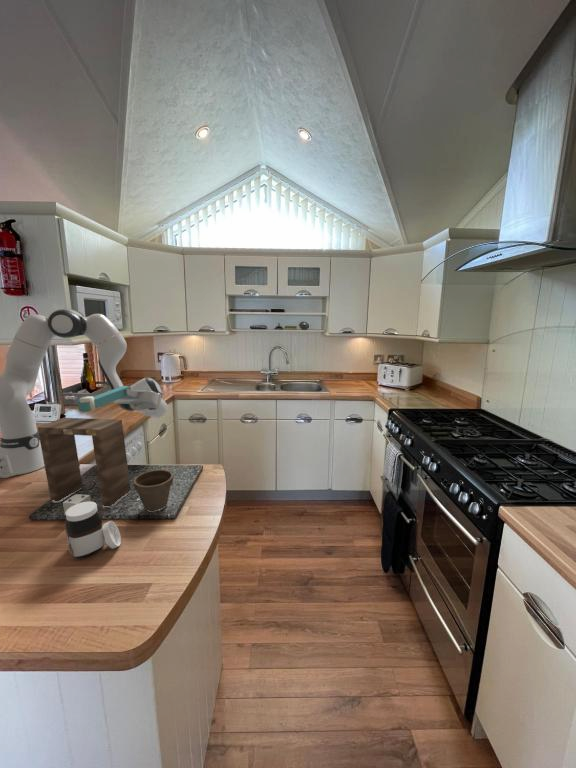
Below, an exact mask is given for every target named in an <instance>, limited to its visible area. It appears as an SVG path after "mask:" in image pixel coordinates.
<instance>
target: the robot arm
mask: <svg viewBox="0 0 576 768" xmlns="http://www.w3.org/2000/svg"><path fill="white" fill-rule="evenodd" d="M78 336H86V337H87V339H89V341H91V343H92V344H93V346H95V348H96V349H97V351H98V354H99V359H98V362H97V363H98V366H99V369H100V370H101V372H102V374H103V376H104V378H105V380H106V382H107V384H108V386H109V387H110V389H111V390H113V389H116V388H119V387H121V386H124V384H123V382H122V380H121V379H120V377H119V375H118V373H117V369H116V368H117V367H118V366H117V365H118V364H119V362H120V361H121V360H122V359H123V357H124V356H125V354H126V352H127V348H128V344H127V341H126V339H125V337H124V336H123V335H122V333H121V332H120V330H118V328H117V327H116V325H114V324H113V322H112V321H111V320H110V319H108V317H106V315H104V314H103V313H93V314H90V315H88V316H84V314H83V313H81V312H80V311H78V310H76V309H71V308H62V309H57V310H55V311H53V312H52V313H51V314H49V316H48V317H47V316H45V315H42V314H35V313H34V314H30V315H28V316H26V317H25V319H24V320H23V321H22V322H21V324H20V326H19V327H18V329H17V331H16V333H15V334H14V336H13V338H12V341H11V342H10V343H11V344H10V346H9V348H8V350H7V352H6V355H5V357H6V361H5V366H4V370H3V371H2V374H0V433H1V436H2V437H0V478H1V479H2V478H3V479H6V478H11V477H14V476H19V475H25V474H28V473H31V472H35V471H37V470H40V469H42V468H45V465H44V460H43V454H42V449H41V443H40V438H39V432H38V427H37V422H36V418H35V413H34V411H33V410H31V408H30V405H29V404H28V401H27V396H29V395H30V394H31V393H32V392H33V390H34V389H35V386H36V382H37V379H38V375H39V372H40V367H41V365H42V363H43V361H44V359H45V356H46V354H47V352H48V350H49V347H50V345H51V342H52V341H53V339H54V338H55V337H60V338H63V339H70V338H75V337H78ZM130 388H131V390H129V389H125V392H124V394H126V395H127V396H125V397H123V398H120V399H118V400H115V401H113V402H112V403H115V404H118V406H119V407H120V408H121V409H122V410H124V411H128V412H134V411H136V412H139V413H140V414H144V415H146V416H147V417H150V418H153V419H154V418H156V419H159V418H162V417H164V416H166V414H167V412H168V411H169V406H168V403H167V402H166V401H165V400H164V399H163V389H162V387H161V385H160V383H159V382H158V380H155V379H154V378H152V377H149V376H145V377H144V378H142V379H139V380H138V381H136V382H135V383H133V384H131V385H130ZM108 391H110V390H107V391H106V392H108Z"/></svg>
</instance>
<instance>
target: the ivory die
mask: <svg viewBox="0 0 576 768" xmlns="http://www.w3.org/2000/svg"><path fill="white" fill-rule="evenodd" d="M91 500H92V499H91V495H90V494H81V493H80V494H79V493H75V494H74V495H72V496H71V497H69V498H67V499H66V500H64V501H63V502H62V505H63V511H64V514H65V512H66V511H67V510H68V509H69V508H70V507H72V506H74V505H76V504H79V503H82V502H92V501H91Z"/></svg>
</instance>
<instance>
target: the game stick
mask: <svg viewBox="0 0 576 768" xmlns="http://www.w3.org/2000/svg"><path fill="white" fill-rule="evenodd" d="M130 386H131V385H130ZM130 386H129V385H123V386H121V387H119V388H116V389H113V390H112V389H111V390H110V391H109V390H107V391H108V392H107V391H105V392H103V393H100V394H97V395H94V396H92V395H89V396H82V397H80V398H78V399H79V401H78V402H77V406H78V412H87V413H88V412H92V411H94V410H96V409H98V408H101V407H104V406H105V405H108V404H110V403H114V402H113V401H115V400H118V399H120V398H123V397H125V396H127V395H126V394H124V392H125V389H129V390H131V388H130Z"/></svg>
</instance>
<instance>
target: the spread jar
mask: <svg viewBox="0 0 576 768" xmlns="http://www.w3.org/2000/svg"><path fill="white" fill-rule="evenodd" d="M65 515H66V518H65V521H64V527H65V534H66V540H67V544H68V545H67V546H68V549H69V550H68V551H69V553H70V555H71V557H73V558H74V559H77V560H79V559H80V560H81V559H86V558H89V557H92V556H93V555H94V556H95V554H97V553H99V552H100V551H101V550H102V549H103V548H104V547H105V544H107V546H108V547H109V548H110V549H116V548H117V547H120V546H121V543H122V537H121V533H120V530H119V527H118V526H117V524H116V523H115V522H114V521H113V520H109V521H107V522H105V523H104V524H103V521H102V516H101V514H100V513H99V511H98V505H97V502H94V501H91V502H82V503H79V504H76V505H74V506H72V507H70V508H69V509H68V510H67V511H66V512H65V513H64V516H65Z"/></svg>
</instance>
